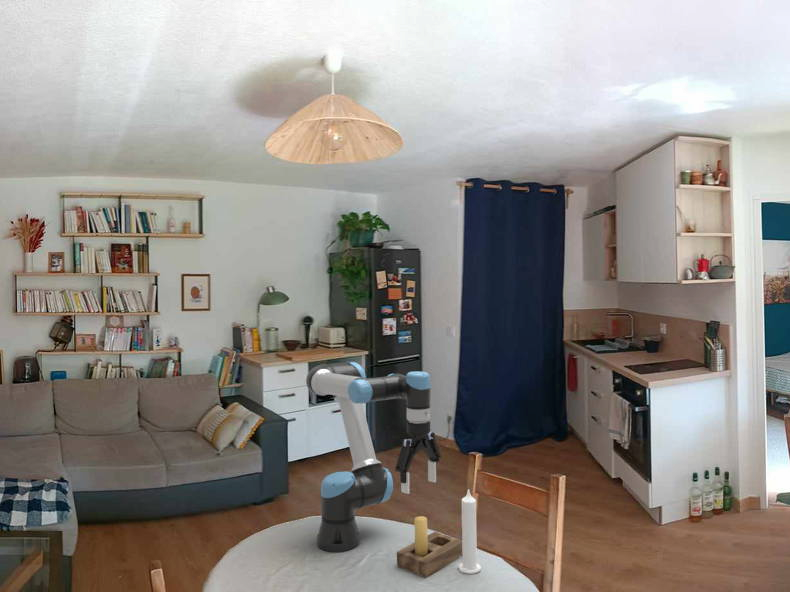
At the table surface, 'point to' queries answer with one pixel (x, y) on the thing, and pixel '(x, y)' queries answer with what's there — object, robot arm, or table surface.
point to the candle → (469, 536)
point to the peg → (421, 536)
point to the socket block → (430, 555)
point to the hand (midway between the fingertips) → (419, 487)
